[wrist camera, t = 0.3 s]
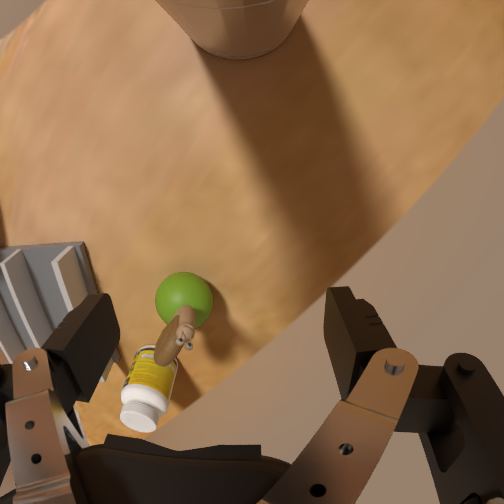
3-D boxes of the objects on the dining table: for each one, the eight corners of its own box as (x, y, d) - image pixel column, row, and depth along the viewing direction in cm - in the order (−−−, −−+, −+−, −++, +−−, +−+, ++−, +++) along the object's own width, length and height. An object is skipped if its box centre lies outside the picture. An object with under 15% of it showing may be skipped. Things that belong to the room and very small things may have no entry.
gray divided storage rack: (-19, 248, 29) (-40, 264, 25) (83, 241, 29) (62, 261, 25) (21, 345, 36) (8, 364, 32) (120, 357, 36) (110, 382, 32)
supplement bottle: (135, 339, 35) (109, 402, 26) (179, 348, 35) (163, 414, 26) (137, 369, 37) (117, 429, 28) (178, 377, 37) (164, 440, 29)
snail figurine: (231, 272, 31) (222, 362, 20) (199, 316, 33) (180, 405, 22) (182, 244, 29) (147, 324, 19) (154, 291, 32) (117, 375, 21)
